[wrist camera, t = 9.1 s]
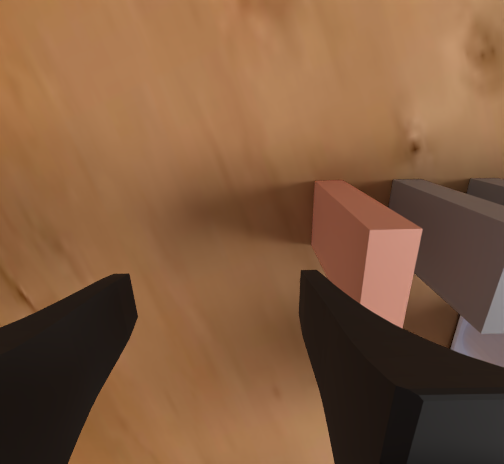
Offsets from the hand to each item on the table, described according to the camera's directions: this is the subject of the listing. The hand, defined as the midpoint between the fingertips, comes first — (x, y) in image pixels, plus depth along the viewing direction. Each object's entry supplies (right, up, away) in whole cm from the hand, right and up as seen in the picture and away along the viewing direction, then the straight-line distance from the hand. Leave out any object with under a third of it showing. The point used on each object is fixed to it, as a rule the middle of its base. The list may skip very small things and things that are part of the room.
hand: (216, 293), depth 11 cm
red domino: (+7, +4, +10) cm, 13 cm away
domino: (+13, +4, +10) cm, 16 cm away
